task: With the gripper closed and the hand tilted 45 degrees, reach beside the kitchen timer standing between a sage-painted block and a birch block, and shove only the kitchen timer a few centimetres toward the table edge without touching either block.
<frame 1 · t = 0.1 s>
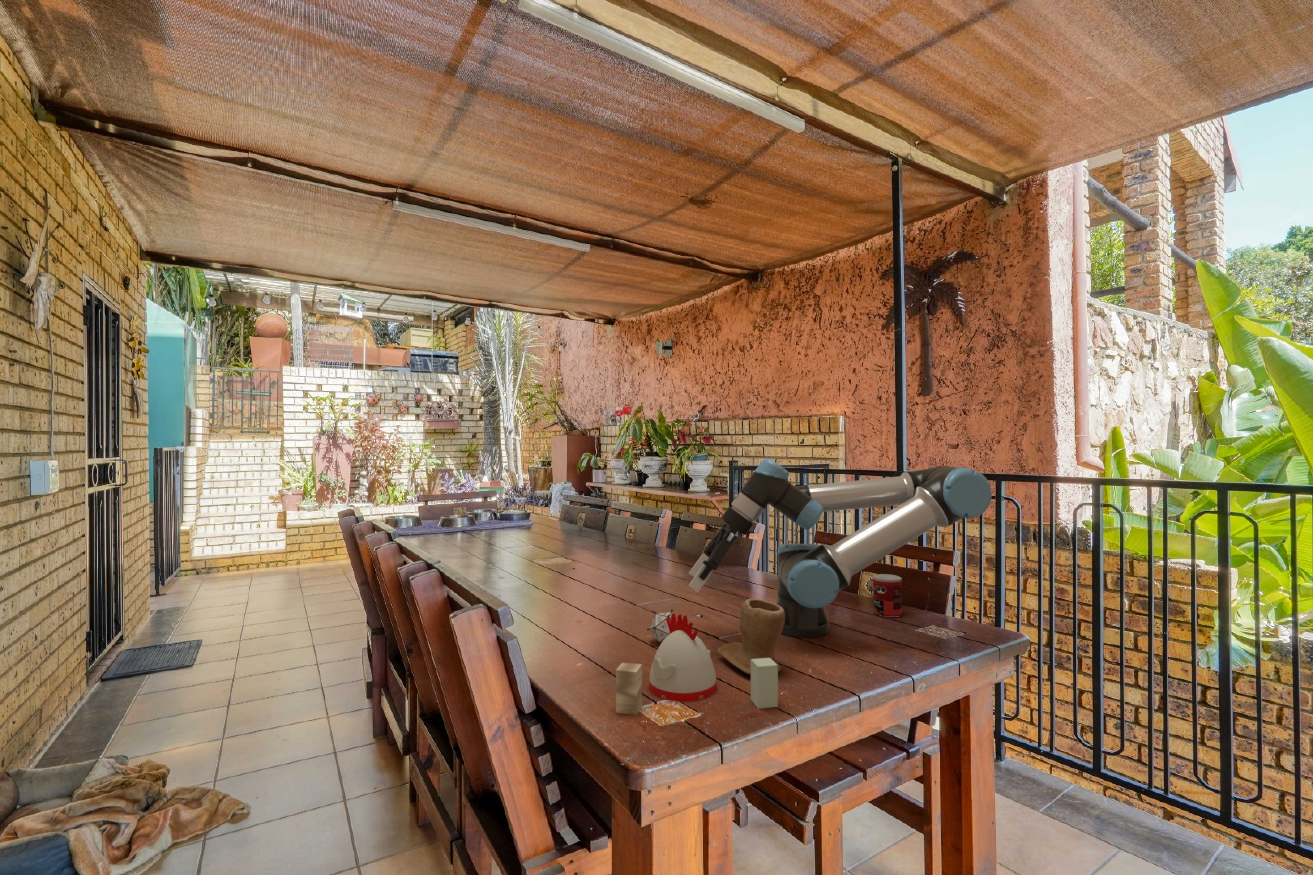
hand: (692, 582, 151), 15 cm above the table, tool tilted 35°, fingers open, 13 cm apart
sage block: (764, 703, 116), on the table
kitchen timer: (682, 687, 124), on the table
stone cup: (754, 667, 135), on the table
birch block: (629, 709, 114), on the table
game die: (665, 643, 152), on the table
canned food: (887, 615, 176), on the table
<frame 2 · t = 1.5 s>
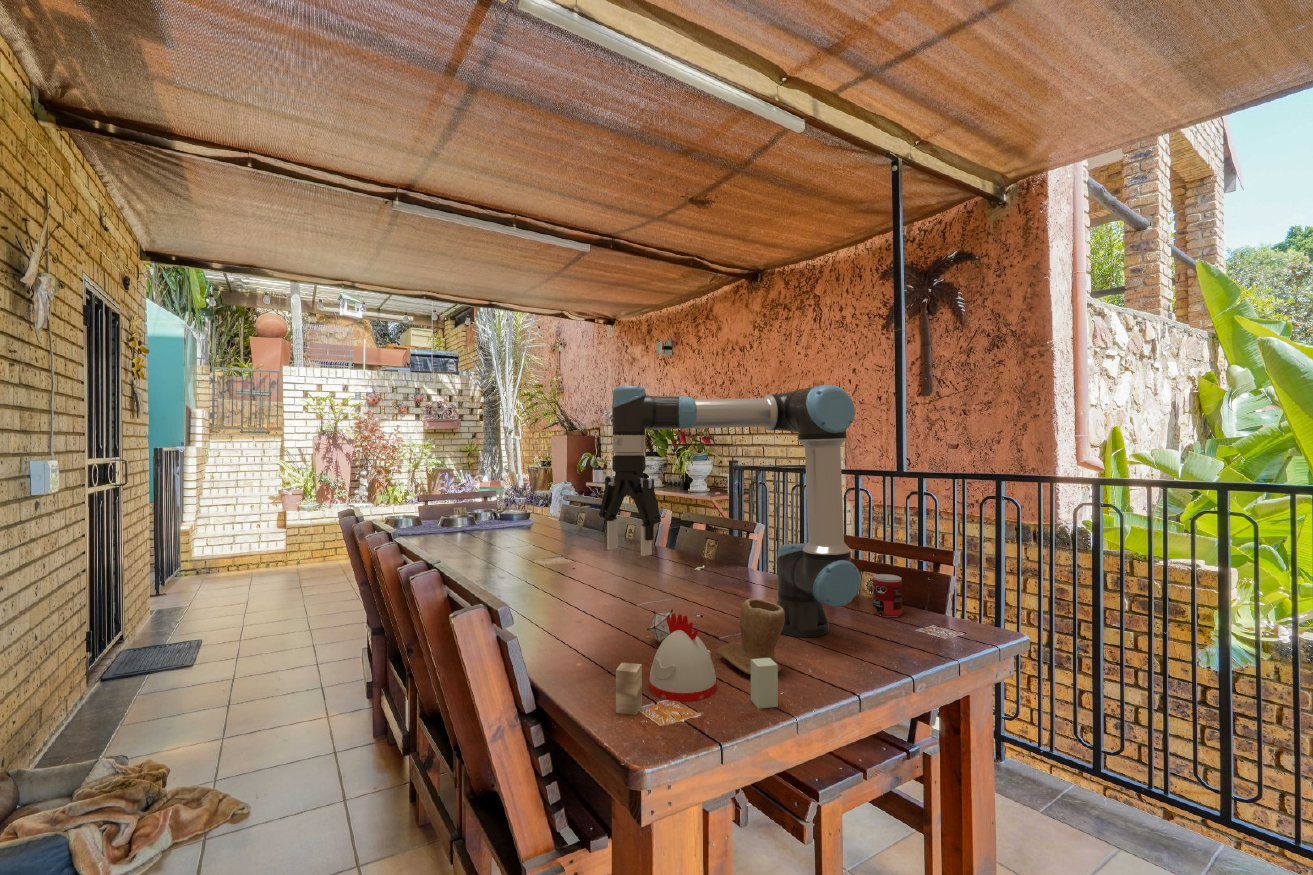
hand: (628, 551, 136), 26 cm above the table, tool pointing down, fingers open, 10 cm apart
nothing on the table moved.
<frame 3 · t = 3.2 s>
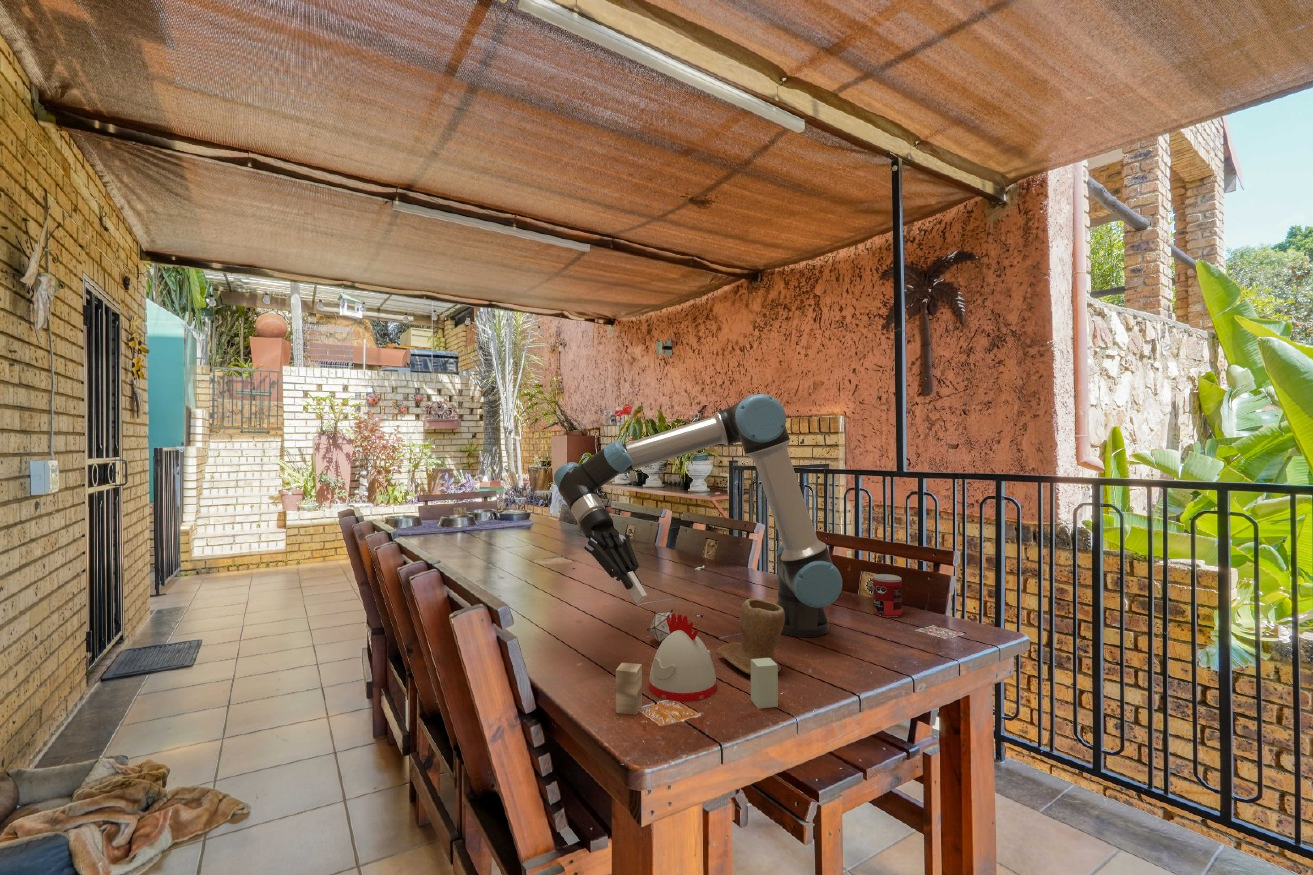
hand: (641, 599, 133), 16 cm above the table, tool tilted 45°, fingers closed
nothing on the table moved.
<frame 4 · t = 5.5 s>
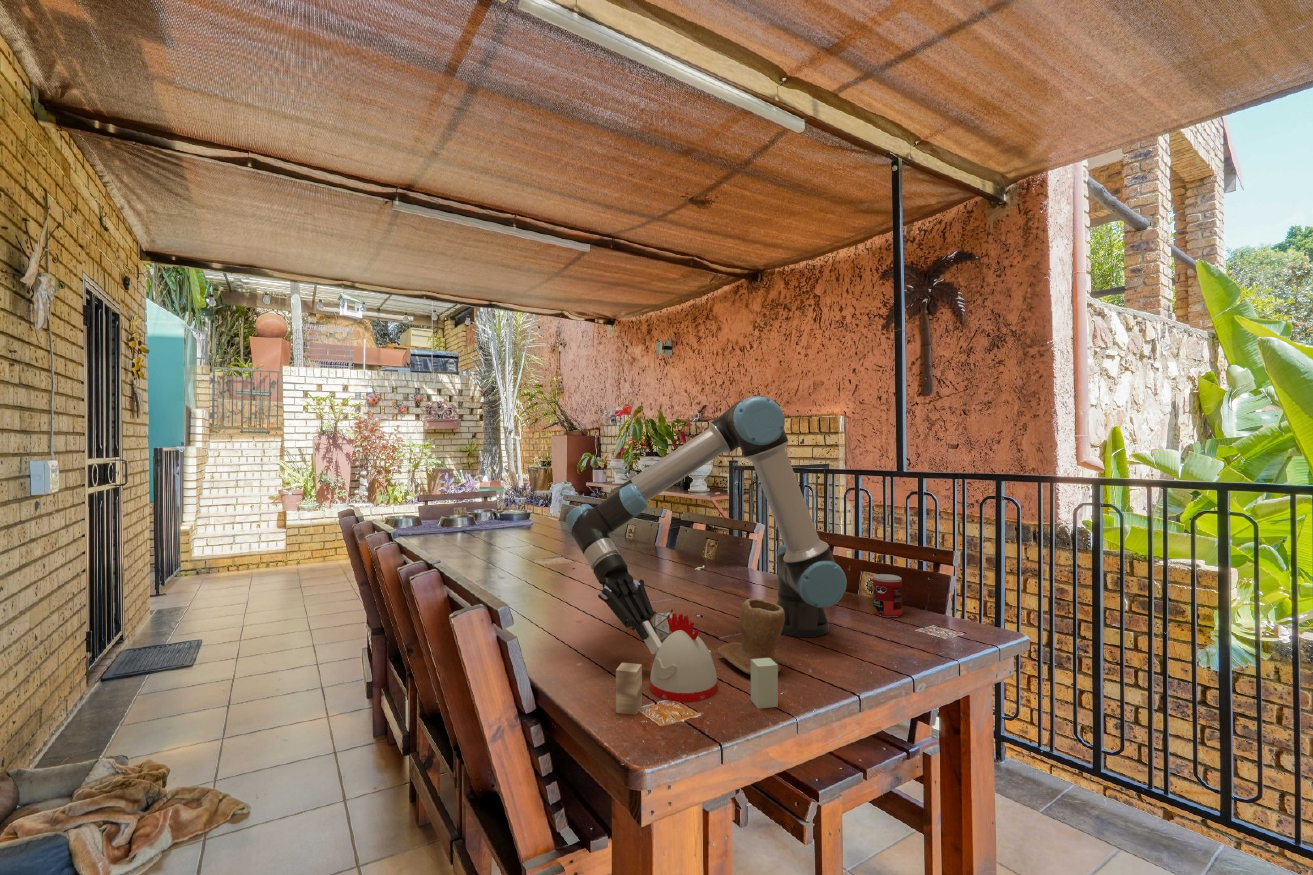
hand: (657, 650, 129), 6 cm above the table, tool tilted 45°, fingers closed
kitchen timer: (683, 688, 124), on the table, touching gripper
everything else where it was.
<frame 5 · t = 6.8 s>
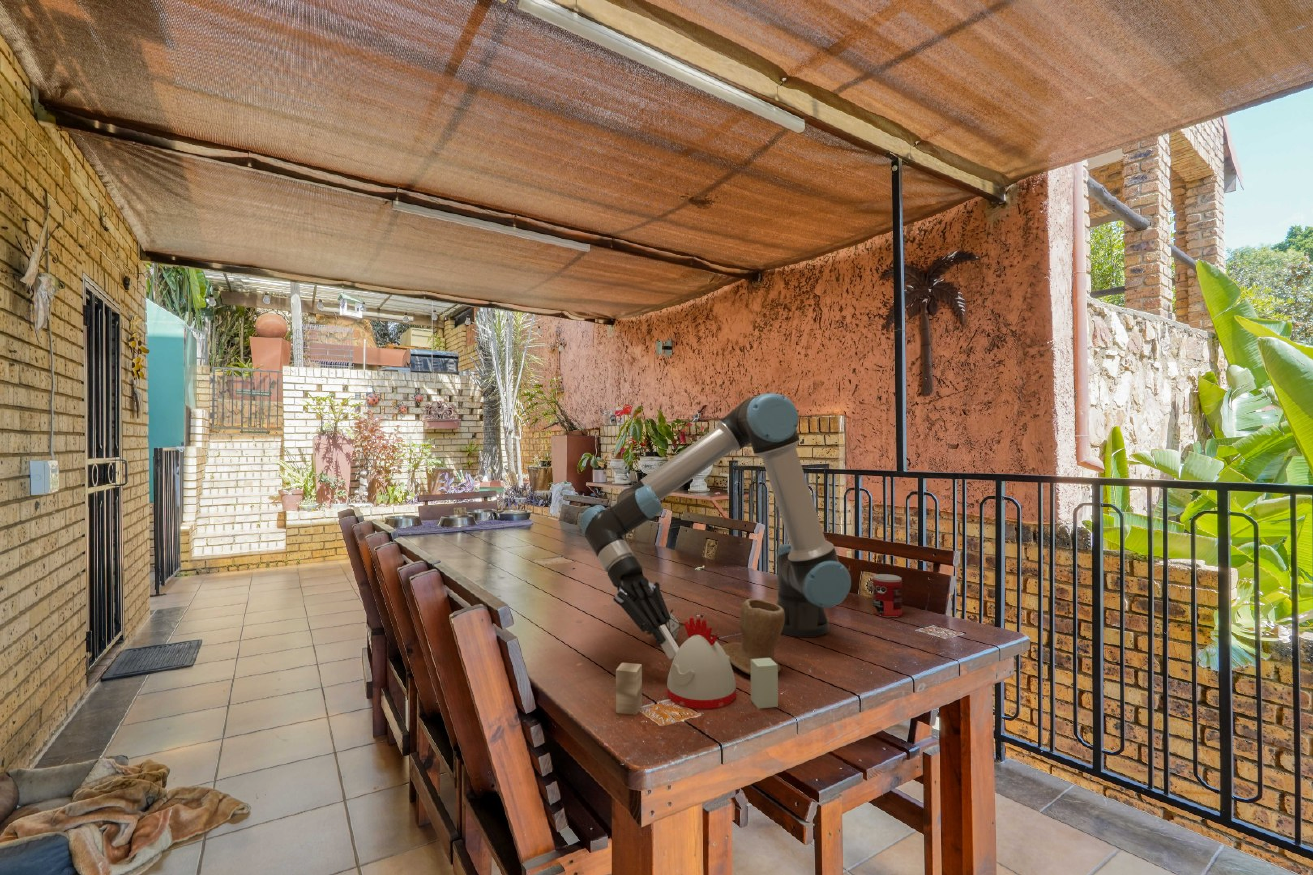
hand: (674, 654, 126), 6 cm above the table, tool tilted 45°, fingers closed
kitchen timer: (701, 694, 121), on the table, touching gripper
everything else where it was.
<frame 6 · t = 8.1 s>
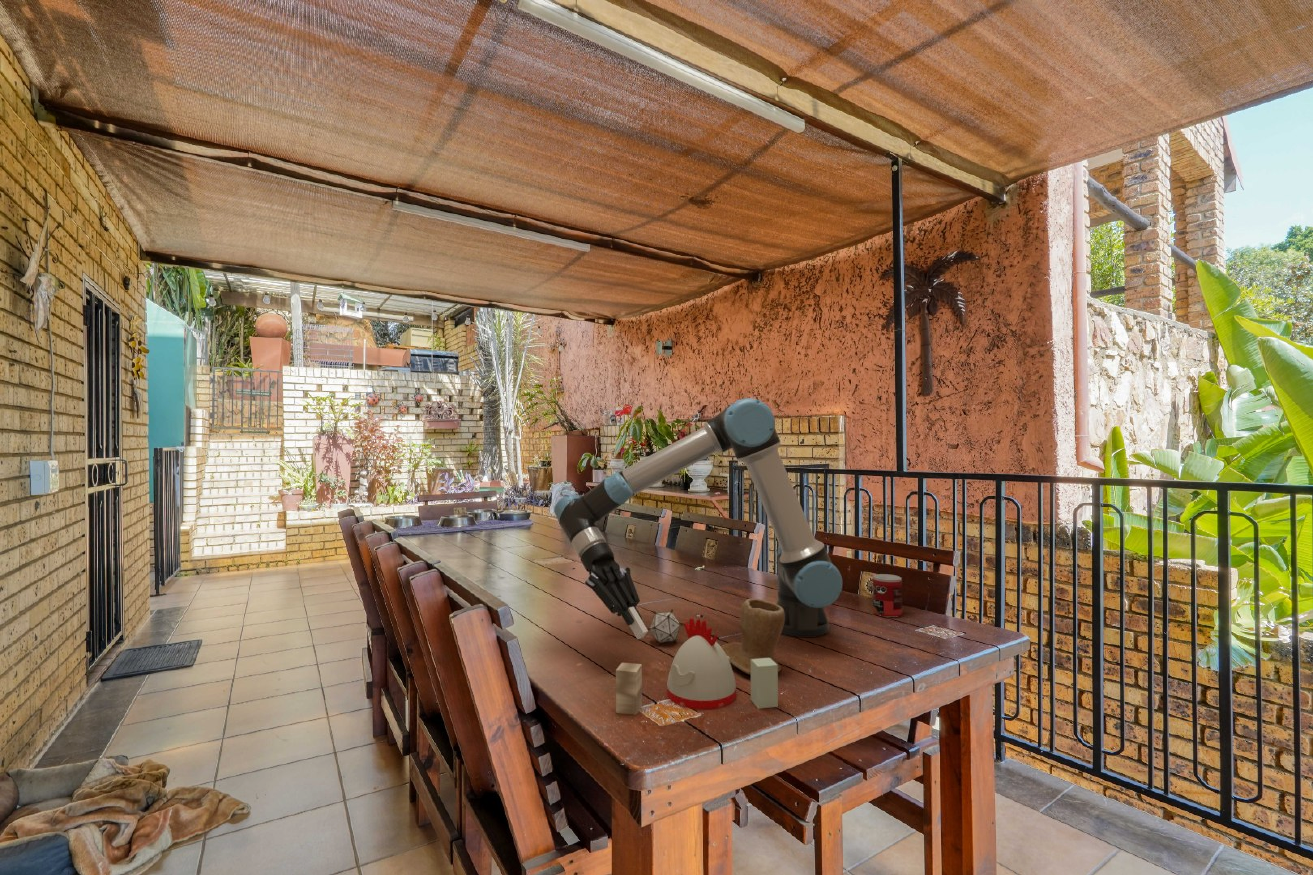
hand: (642, 635, 133), 8 cm above the table, tool tilted 45°, fingers closed
kitchen timer: (701, 695, 121), on the table
everything else where it was.
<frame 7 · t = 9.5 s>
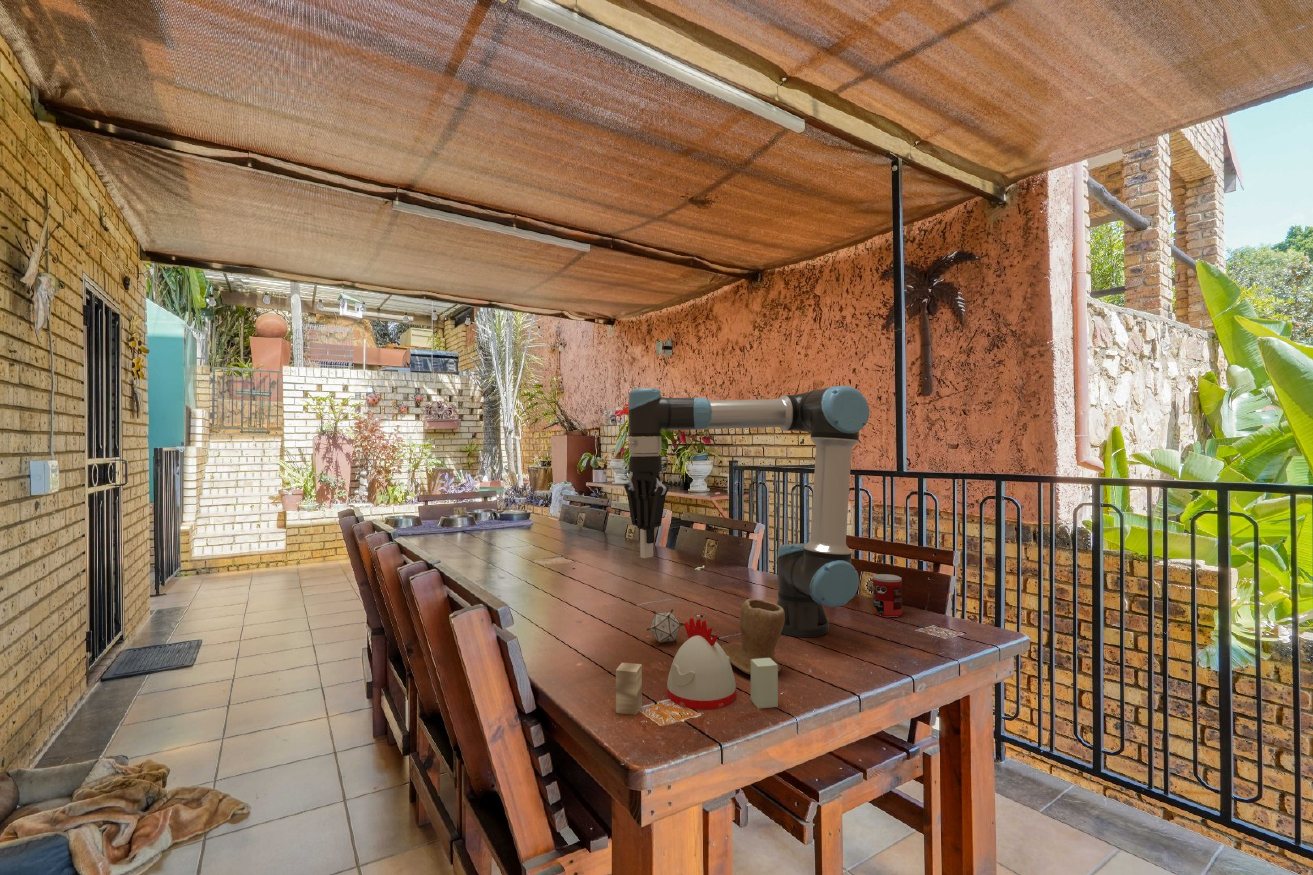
hand: (646, 556, 139), 24 cm above the table, tool pointing down, fingers closed
nothing on the table moved.
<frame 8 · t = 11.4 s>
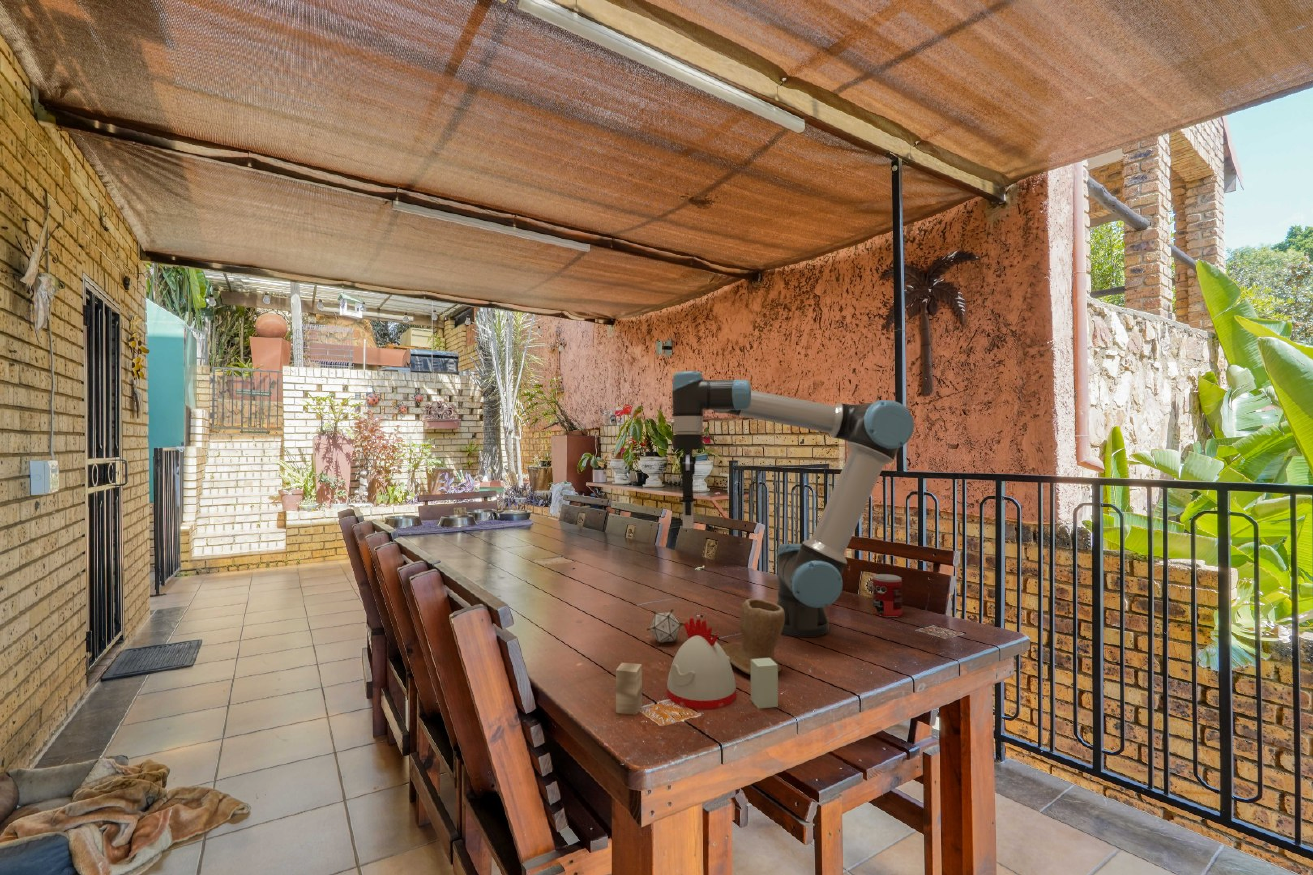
hand: (688, 527, 150), 29 cm above the table, tool pointing down, fingers closed
nothing on the table moved.
at the end: kitchen timer moved 5.1 cm from its start; sage block moved 0.0 cm from its start; birch block moved 0.0 cm from its start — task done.
